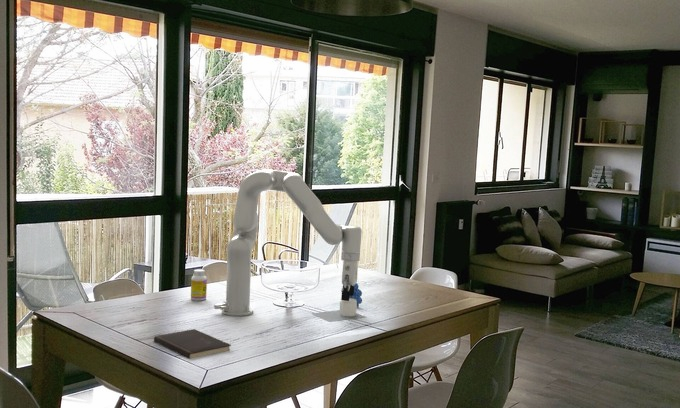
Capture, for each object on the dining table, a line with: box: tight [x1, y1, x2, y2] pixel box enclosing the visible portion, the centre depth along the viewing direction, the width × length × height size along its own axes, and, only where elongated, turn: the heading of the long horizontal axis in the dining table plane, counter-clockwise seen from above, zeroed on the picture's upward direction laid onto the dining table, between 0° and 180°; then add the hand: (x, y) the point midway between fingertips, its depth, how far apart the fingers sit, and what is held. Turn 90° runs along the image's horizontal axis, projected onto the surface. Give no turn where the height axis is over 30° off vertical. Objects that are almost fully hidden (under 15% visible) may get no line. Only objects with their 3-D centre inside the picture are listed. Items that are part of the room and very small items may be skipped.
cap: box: [339, 298, 358, 316], centre depth 277 cm, size 6×6×6 cm
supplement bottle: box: [190, 268, 208, 302], centre depth 296 cm, size 7×7×13 cm
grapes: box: [340, 282, 363, 308], centre depth 294 cm, size 12×7×12 cm, turn 47°
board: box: [310, 309, 367, 323], centre depth 274 cm, size 18×14×6 cm
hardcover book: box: [153, 328, 232, 359], centre depth 231 cm, size 16×23×2 cm
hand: (347, 297), depth 277 cm, fingers open, 9 cm apart
